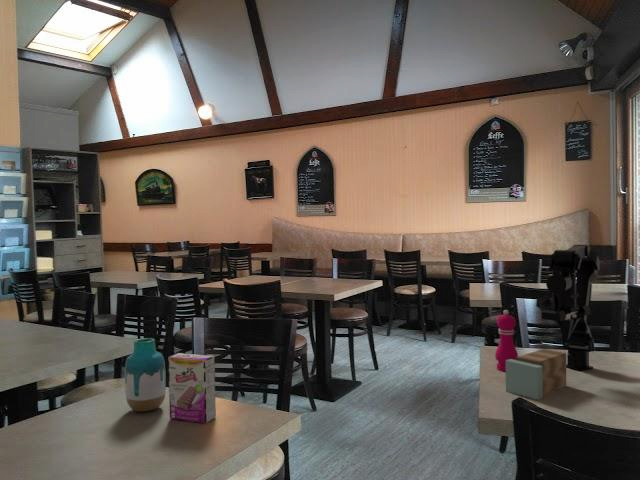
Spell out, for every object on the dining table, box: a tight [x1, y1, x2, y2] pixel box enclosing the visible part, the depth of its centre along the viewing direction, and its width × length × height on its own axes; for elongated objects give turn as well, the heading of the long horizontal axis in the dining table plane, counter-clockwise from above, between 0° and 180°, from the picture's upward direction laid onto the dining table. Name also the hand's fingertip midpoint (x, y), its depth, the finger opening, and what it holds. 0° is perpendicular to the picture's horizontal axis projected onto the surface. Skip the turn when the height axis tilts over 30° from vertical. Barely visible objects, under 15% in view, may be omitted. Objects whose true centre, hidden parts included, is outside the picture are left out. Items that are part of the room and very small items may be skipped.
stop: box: [505, 359, 544, 401], centre depth 147 cm, size 2×10×9 cm, turn 35°
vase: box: [124, 337, 167, 413], centre depth 141 cm, size 11×11×19 cm
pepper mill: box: [494, 309, 519, 373], centre depth 172 cm, size 7×7×20 cm
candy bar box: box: [167, 352, 217, 424], centre depth 133 cm, size 11×5×16 cm, turn 71°
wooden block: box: [516, 348, 567, 396], centre depth 152 cm, size 15×7×10 cm, turn 127°
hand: (566, 339), depth 162 cm, fingers closed
